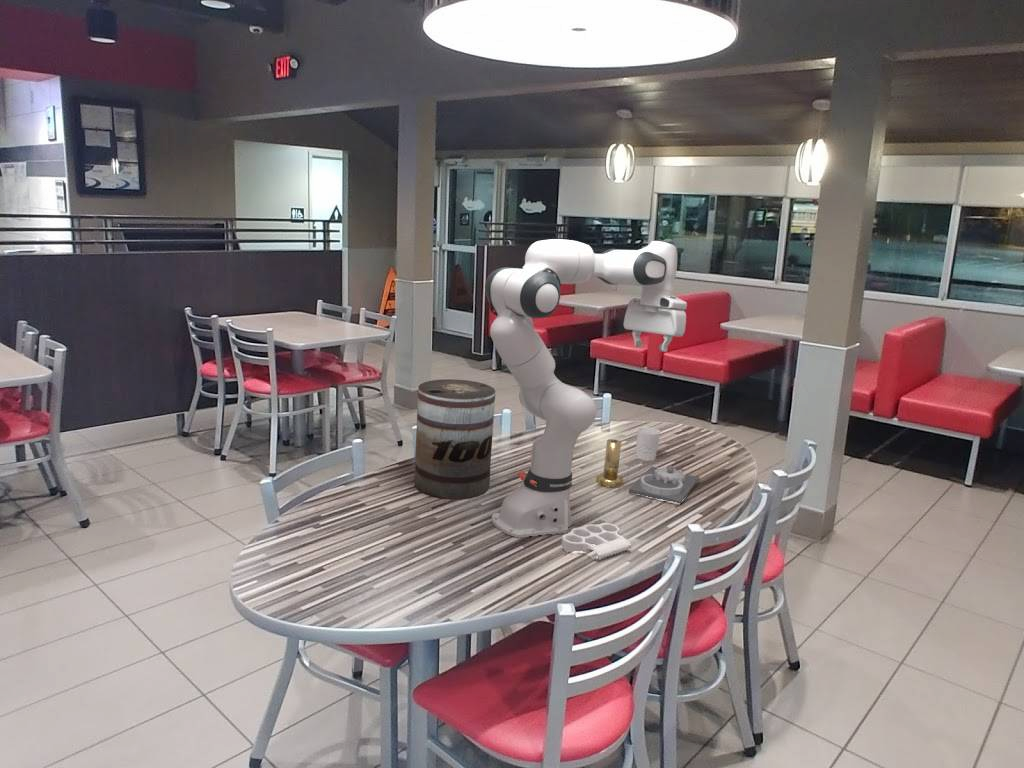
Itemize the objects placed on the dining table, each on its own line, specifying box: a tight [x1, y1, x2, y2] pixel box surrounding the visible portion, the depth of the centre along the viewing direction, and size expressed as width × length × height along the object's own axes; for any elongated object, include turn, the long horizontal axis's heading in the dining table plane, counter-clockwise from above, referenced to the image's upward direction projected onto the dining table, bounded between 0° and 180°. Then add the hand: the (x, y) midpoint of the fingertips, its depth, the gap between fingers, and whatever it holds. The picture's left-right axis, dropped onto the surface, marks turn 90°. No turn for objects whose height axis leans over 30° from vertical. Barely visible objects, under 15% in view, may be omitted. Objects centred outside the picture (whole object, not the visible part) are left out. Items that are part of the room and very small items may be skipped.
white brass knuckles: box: [560, 522, 632, 561], centre depth 195 cm, size 3×18×15 cm
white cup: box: [635, 426, 661, 462], centre depth 264 cm, size 8×8×10 cm
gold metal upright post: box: [595, 438, 625, 489], centre depth 236 cm, size 9×9×14 cm
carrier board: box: [628, 465, 700, 503], centre depth 238 cm, size 24×16×6 cm, turn 153°
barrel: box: [413, 378, 497, 501], centre depth 224 cm, size 22×22×30 cm
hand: (650, 349), depth 214 cm, fingers open, 8 cm apart
